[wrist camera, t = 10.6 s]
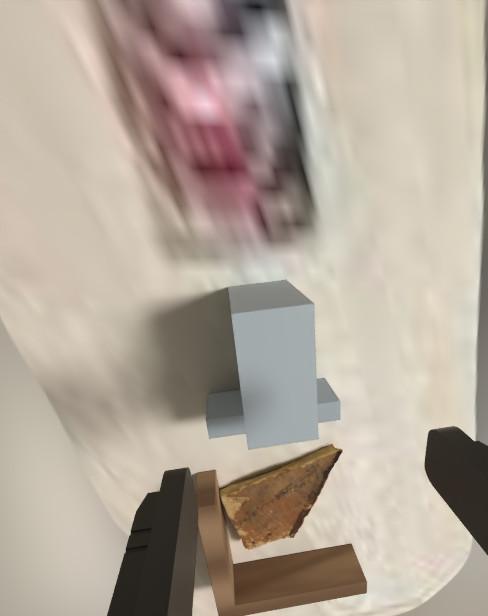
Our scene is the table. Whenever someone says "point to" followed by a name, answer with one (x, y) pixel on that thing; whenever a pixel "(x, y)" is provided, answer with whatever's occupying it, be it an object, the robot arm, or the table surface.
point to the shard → (278, 498)
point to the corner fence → (269, 567)
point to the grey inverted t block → (273, 370)
